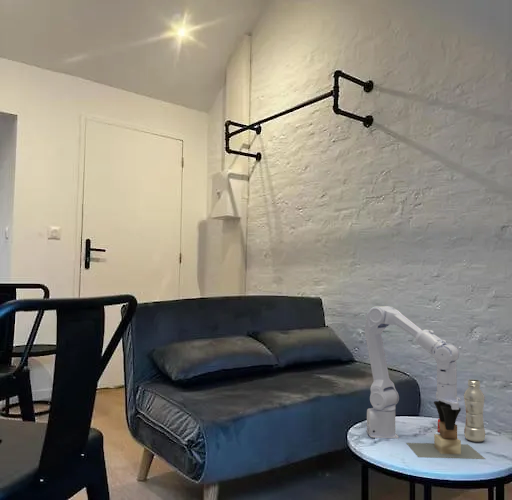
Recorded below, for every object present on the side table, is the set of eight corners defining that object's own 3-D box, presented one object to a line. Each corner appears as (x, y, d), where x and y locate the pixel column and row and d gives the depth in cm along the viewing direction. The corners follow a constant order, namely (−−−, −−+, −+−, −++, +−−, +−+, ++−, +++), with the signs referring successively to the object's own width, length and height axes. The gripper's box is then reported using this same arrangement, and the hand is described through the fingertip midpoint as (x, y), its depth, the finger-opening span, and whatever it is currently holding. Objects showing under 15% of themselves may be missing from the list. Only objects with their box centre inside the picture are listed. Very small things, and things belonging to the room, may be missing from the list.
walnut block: (444, 438, 149) (444, 425, 150) (439, 434, 153) (439, 421, 154) (457, 438, 149) (457, 425, 149) (452, 434, 153) (452, 421, 153)
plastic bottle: (488, 441, 162) (487, 380, 163) (481, 445, 157) (480, 383, 158) (468, 436, 166) (468, 377, 167) (460, 441, 161) (460, 380, 163)
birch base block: (441, 453, 148) (440, 440, 148) (434, 447, 154) (434, 434, 154) (460, 454, 148) (460, 440, 148) (453, 447, 154) (453, 434, 154)
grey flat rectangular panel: (418, 458, 145) (418, 457, 145) (406, 443, 158) (406, 442, 158) (485, 460, 144) (485, 459, 144) (468, 445, 157) (468, 444, 157)
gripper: (469, 388, 145) (469, 434, 144) (451, 378, 159) (451, 421, 159) (445, 388, 145) (445, 434, 144) (429, 378, 160) (429, 420, 159)
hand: (447, 427), depth 151 cm, fingers closed on walnut block, 4 cm apart
